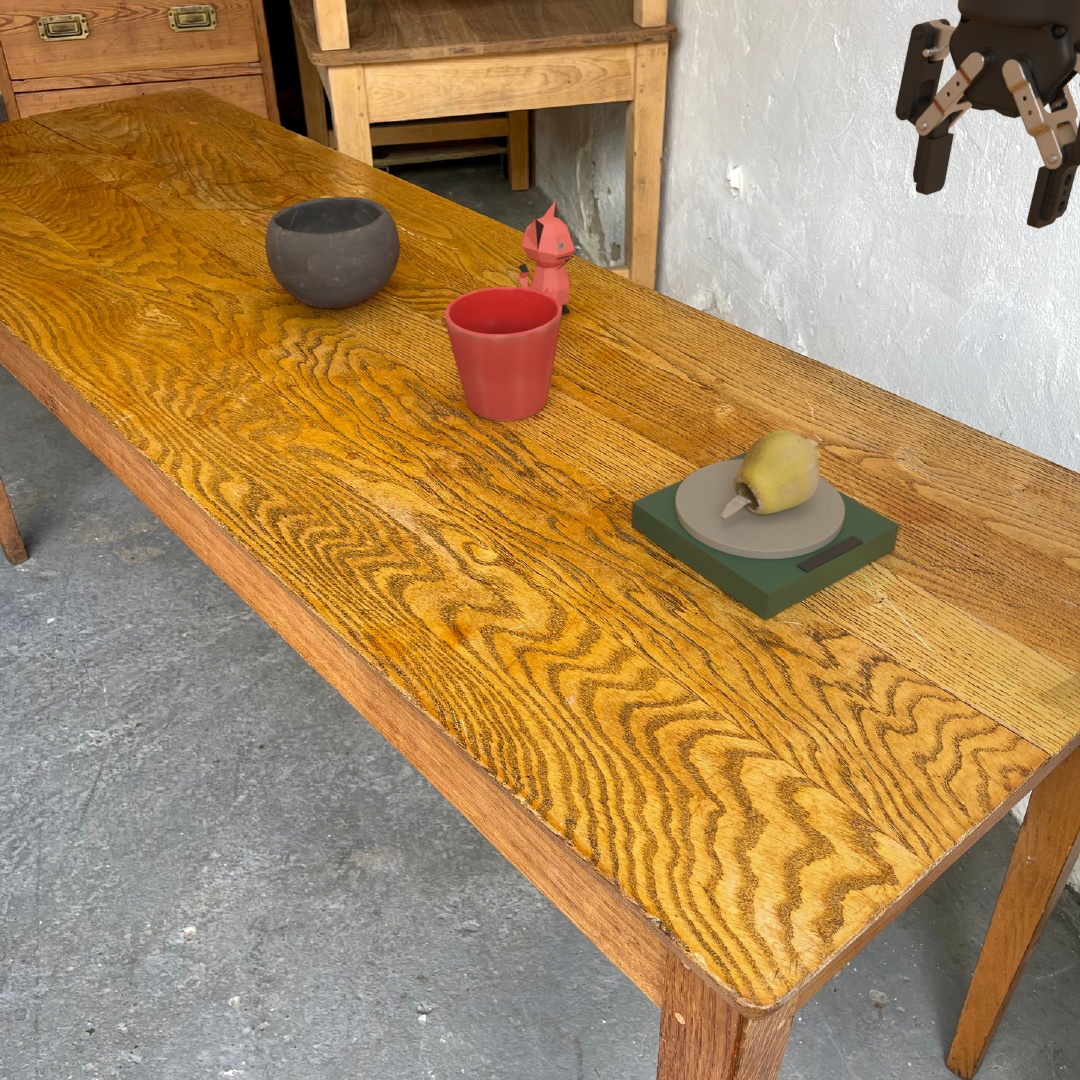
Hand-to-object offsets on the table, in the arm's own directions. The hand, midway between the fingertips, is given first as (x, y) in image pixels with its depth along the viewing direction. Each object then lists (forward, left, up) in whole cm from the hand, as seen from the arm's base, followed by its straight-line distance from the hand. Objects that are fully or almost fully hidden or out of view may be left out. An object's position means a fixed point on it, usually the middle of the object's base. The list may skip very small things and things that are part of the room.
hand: (982, 207), depth 72 cm
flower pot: (+38, +13, -26) cm, 48 cm away
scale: (+7, +10, -26) cm, 29 cm away
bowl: (+71, +14, -26) cm, 77 cm away
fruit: (+7, +10, -23) cm, 26 cm away
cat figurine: (+52, -2, -26) cm, 58 cm away
